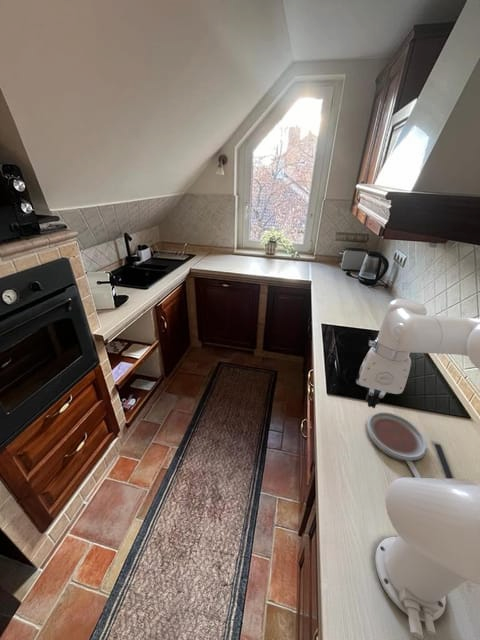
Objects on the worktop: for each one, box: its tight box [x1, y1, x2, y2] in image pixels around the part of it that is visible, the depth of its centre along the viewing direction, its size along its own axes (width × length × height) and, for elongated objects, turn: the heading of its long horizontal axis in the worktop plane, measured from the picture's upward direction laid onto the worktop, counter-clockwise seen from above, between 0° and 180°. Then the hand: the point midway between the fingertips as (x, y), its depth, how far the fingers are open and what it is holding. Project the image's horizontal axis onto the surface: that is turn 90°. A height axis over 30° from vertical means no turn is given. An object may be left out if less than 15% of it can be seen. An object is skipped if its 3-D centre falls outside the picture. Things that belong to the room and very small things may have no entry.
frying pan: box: [366, 411, 428, 478], centre depth 77 cm, size 17×3×28 cm
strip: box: [434, 443, 454, 479], centre depth 75 cm, size 12×2×1 cm, turn 161°
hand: (370, 403), depth 70 cm, fingers closed
